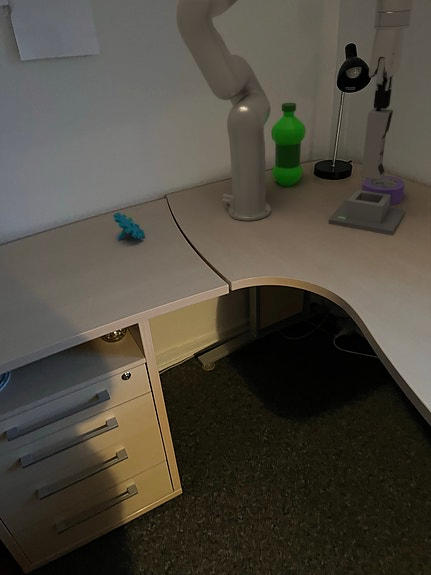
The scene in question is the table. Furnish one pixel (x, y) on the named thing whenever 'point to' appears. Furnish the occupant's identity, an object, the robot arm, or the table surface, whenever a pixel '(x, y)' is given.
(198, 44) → the robot arm
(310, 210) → the table surface
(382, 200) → the charging dock
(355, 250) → the table surface
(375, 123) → the vintage mobile phone
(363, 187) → the tape roll
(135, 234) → the teal bumpy irregular piece
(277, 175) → the plastic bottle
